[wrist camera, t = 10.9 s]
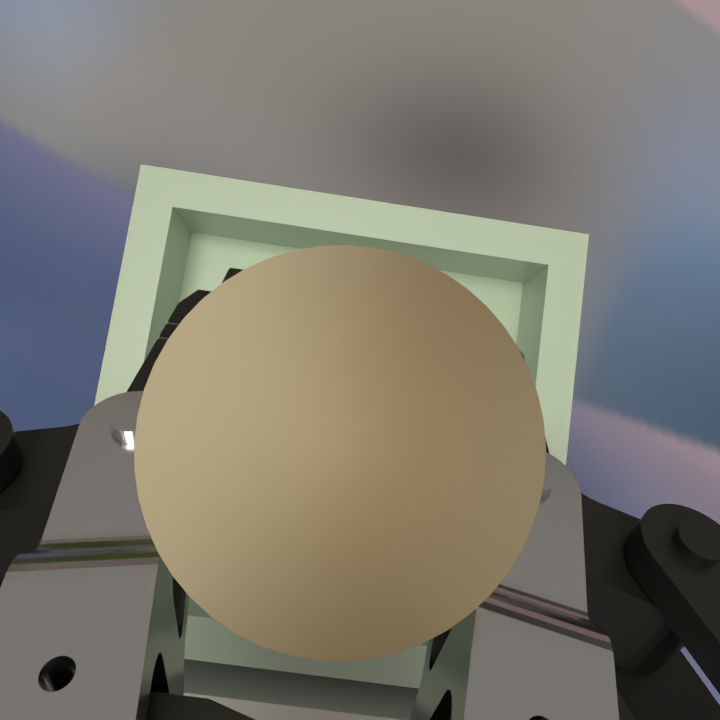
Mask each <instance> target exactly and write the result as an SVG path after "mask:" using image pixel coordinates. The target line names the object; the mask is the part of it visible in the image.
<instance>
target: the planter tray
mask: <svg viewBox="0 0 720 720" xmlns="http://www.w3.org/2000/svg"><path fill="white" fill-rule="evenodd" d="M588 237H589V235H588V234H583V233H576V232H570V231H563V230H557V229H550V228H544V227H538V226H532V225H525V224H519V223H512V222H506V221H500V220H493V219H487V218H480V217H474V216H467V215H461V214H455V213H448V212H442V211H435V210H429V209H423V208H417V207H410V206H403V205H397V204H391V203H385V202H378V201H372V200H365V199H359V198H352V197H346V196H340V195H333V194H327V193H321V192H314V191H308V190H301V189H295V188H289V187H282V186H276V185H270V184H263V183H257V182H250V181H244V180H238V179H231V178H225V177H218V176H212V175H205V174H199V173H192V172H186V171H180V170H174V169H167V168H160V167H154V166H148V165H142V164H141V167H140V172H139V178H138V183H137V188H136V193H135V198H134V203H133V208H132V213H131V219H130V224H129V229H128V234H127V239H126V244H125V250H124V255H123V260H122V265H121V270H120V275H119V281H118V286H117V291H116V296H115V301H114V306H113V312H112V317H111V322H110V327H109V332H108V337H107V343H106V348H105V353H104V358H103V363H102V368H101V374H100V379H99V384H98V389H97V394H96V400H95V405H96V404H98V403H99V402H101V401H103V400H105V399H106V398H109V397H111V396H114V395H117V394H121V393H125V392H127V390H128V388H129V387H130V385H131V383H132V382H133V380H134V378H135V376H136V375H137V373H138V371H139V370H140V368H141V366H142V364H143V363H144V361H145V359H146V358H147V356H148V354H149V352H150V351H151V349H152V347H153V346H154V344H155V342H156V340H157V339H159V337H160V334H161V332H162V330H163V328H164V327H165V325H166V324H168V320H169V318H170V316H171V315H172V313H173V311H174V310H175V308H176V306H177V304H178V303H179V302H181V301H182V300H184V299H185V298H186V297H188V296H189V295H191V294H192V293H194V292H195V291H197V290H198V289H199V290H205V291H213V290H214V289H215V288H217V287H218V286H219V285H220V284H222V281H223V279H224V277H225V275H226V273H227V271H228V270H229V269H230V268H237V269H243V270H244V269H246V268H248V267H250V266H252V265H255V264H257V263H259V262H261V261H264V260H266V259H268V258H271V257H274V256H277V255H281V254H284V253H287V252H291V251H294V250H299V249H305V248H311V247H317V246H332V245H352V246H364V247H373V248H378V249H382V250H387V251H391V252H396V253H399V254H402V255H405V256H408V257H411V258H413V259H416V260H419V261H422V262H424V263H426V264H428V265H430V266H432V267H434V268H435V269H437V270H439V271H441V272H443V273H445V274H447V275H448V276H450V277H451V278H453V279H454V280H455V281H457V282H458V283H460V284H461V285H463V286H464V287H466V288H467V289H468V290H469V291H470V292H472V293H473V294H474V295H475V296H476V297H477V298H478V299H479V300H481V301H482V302H483V303H484V304H485V305H486V306H487V307H488V308H489V309H490V311H491V312H492V313H493V314H494V315H495V316H496V317H497V319H498V320H499V321H500V322H501V323H502V324H503V326H504V327H505V329H506V330H507V332H508V333H509V334H510V336H511V337H512V339H513V340H514V342H515V343H516V345H517V346H518V348H519V350H520V351H521V352H522V354H523V355H524V359H525V362H526V364H527V366H528V368H529V370H530V373H531V376H532V379H533V382H534V385H535V387H536V390H537V393H538V397H539V401H540V406H541V410H542V415H543V420H544V430H545V438H546V442H547V445H548V449H549V453H550V454H551V455H552V456H554V457H556V458H557V459H558V460H560V461H561V462H562V463H563V464H564V465H565V466H566V458H567V448H568V438H569V428H570V418H571V408H572V398H573V387H574V378H575V368H576V358H577V348H578V337H579V328H580V318H581V308H582V298H583V287H584V278H585V268H586V258H587V248H588ZM95 405H94V406H95ZM427 645H428V641H427V642H425V643H423V644H420V645H418V646H415V647H412V648H409V649H407V650H404V651H401V652H399V653H396V654H391V655H387V656H382V657H377V658H373V659H368V660H355V661H342V662H339V661H322V660H310V659H305V658H300V657H295V656H290V655H285V654H282V653H279V652H277V651H274V650H271V649H268V648H265V647H262V646H259V645H257V644H255V643H253V642H251V641H249V640H247V639H245V638H244V637H242V636H240V635H238V634H236V633H234V632H232V631H231V630H229V629H228V628H227V627H225V626H224V625H222V624H221V623H219V622H218V621H217V620H215V619H214V618H212V617H211V616H210V615H209V614H208V613H206V612H205V611H204V610H203V609H202V608H201V607H200V606H199V605H198V604H197V603H196V602H195V601H194V600H192V599H191V598H190V597H189V607H188V617H187V628H186V639H185V653H184V659H190V660H197V661H205V662H213V663H221V664H229V665H237V666H245V667H253V668H261V669H269V670H276V671H284V672H292V673H300V674H308V675H316V676H324V677H332V678H340V679H347V680H355V681H363V682H371V683H379V684H387V685H395V686H403V687H411V688H419V686H420V682H421V678H422V673H423V668H424V662H425V656H426V651H427Z"/></svg>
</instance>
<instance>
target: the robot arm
mask: <svg viewBox="0 0 720 720" xmlns="http://www.w3.org/2000/svg"><path fill="white" fill-rule="evenodd" d="M242 270H243V269H237V268H230V269H229V270H228V271H227V273H226V275H225V277H224V279H223V281H222V283H223V282H224V281H226V280H228V279H229V278H231V277H233V276H234V275H236V274H237V273H239V272H241V271H242ZM210 292H212V291H205V290H199V289H198V290H197V291H195V292H194V293H192V294H191V295H189V296H188V297H186V298H185V299H184V300H182V301H181V302H179V303H178V304H177V306H176V308H175V310H174V311H173V313H172V315H171V316H170V318H169V320H168V324H166V325H165V327H164V328H163V330H162V332H161V334H160V337H159V339H157V340H156V342H155V344H154V346H153V347H152V349H151V351H150V352H149V354H148V356H147V358H146V359H145V361H144V363H143V364H142V366H141V368H140V370H139V371H138V373H137V375H136V376H135V378H134V380H133V382H132V383H131V385H130V387H129V388H128V390H127V392H125V393H121V394H117V395H114V396H111V397H109V398H106V399H105V400H103V401H101V402H99V403H98V404H96V405H95V406H93V407H92V408H91V409H90V410H89V411H88V412H87V413H86V414H85V416H84V417H83V418H82V420H81V422H80V424H76V425H72V426H65V427H58V428H48V429H38V430H28V431H18V432H14V430H13V427H12V424H11V422H10V420H9V418H8V417H7V416H6V415H5V414H4V413H2V412H1V411H0V720H255V719H253V718H251V717H248V716H246V715H244V714H242V713H240V712H237V711H235V710H233V709H231V708H228V707H226V706H224V705H222V704H220V703H217V702H215V701H213V700H211V699H208V698H200V697H192V696H184V653H185V639H186V628H187V617H188V607H189V595H188V594H187V593H186V592H185V590H184V589H183V588H182V587H181V586H180V584H179V583H178V582H177V581H176V579H175V578H174V577H173V576H172V574H171V573H170V571H169V569H168V568H167V566H166V565H165V563H164V561H163V560H162V558H161V556H160V555H159V553H158V551H157V549H156V547H155V545H154V542H153V540H152V538H151V536H150V533H149V531H148V529H147V526H146V523H145V520H144V516H143V513H142V509H141V506H140V502H139V499H138V492H137V485H136V478H135V472H134V440H135V431H136V423H137V415H138V411H139V407H140V403H141V400H142V396H143V392H144V388H145V386H146V383H147V381H148V378H149V376H150V373H151V371H152V368H153V366H154V363H155V362H156V360H157V358H158V356H159V354H160V353H161V351H162V349H163V347H164V345H165V344H166V342H167V340H168V339H169V337H170V336H171V335H172V333H173V332H174V331H175V329H176V328H177V327H178V325H179V324H180V323H181V321H182V320H183V318H184V317H185V316H186V315H187V314H188V313H189V312H190V311H191V310H192V309H193V308H194V307H195V306H196V305H197V304H198V303H199V302H200V301H201V300H202V299H203V298H204V297H205V296H207V295H208V294H209V293H210ZM520 352H521V351H520ZM521 354H522V352H521ZM522 356H523V358H524V355H523V354H522ZM524 360H525V359H524ZM545 441H546V438H545ZM684 646H685V647H686V649H687V650H688V651H689V653H690V654H691V655H692V657H693V658H694V660H695V661H696V662H697V664H698V665H699V666H700V668H701V669H702V671H703V672H704V673H705V675H706V676H707V677H708V679H709V680H710V682H711V683H712V684H713V686H714V687H715V688H716V690H717V691H718V693H719V694H720V525H719V524H718V523H717V522H715V521H714V520H712V519H711V518H709V517H707V516H706V515H704V514H702V513H700V512H698V511H696V510H693V509H691V508H688V507H685V506H681V505H676V504H661V505H657V506H654V507H652V508H650V509H649V510H647V512H646V513H645V514H644V515H643V517H642V518H641V519H638V518H635V517H633V516H631V515H628V514H626V513H623V512H621V511H618V510H616V509H613V508H611V507H608V506H606V505H603V504H601V503H599V502H597V501H594V500H592V499H590V498H589V497H587V496H585V495H583V494H582V493H581V490H580V487H579V484H578V482H577V480H576V478H575V476H574V475H573V474H572V472H571V471H570V470H569V469H568V468H567V467H566V466H565V465H564V464H563V463H562V462H561V461H560V460H558V459H557V458H556V457H554V456H552V455H551V454H550V453H549V449H548V445H547V442H546V459H545V476H544V482H543V488H542V494H541V500H540V503H539V507H538V510H537V513H536V517H535V520H534V523H533V526H532V529H531V531H530V533H529V535H528V537H527V540H526V542H525V544H524V546H523V549H522V551H521V552H520V554H519V556H518V557H517V559H516V561H515V562H514V564H513V565H512V567H511V569H510V570H509V572H508V573H507V575H506V576H505V577H504V579H503V580H502V581H501V582H500V583H499V585H498V586H497V587H496V588H495V590H494V591H493V592H492V593H491V594H490V596H489V597H488V598H487V599H485V600H484V601H483V602H482V603H481V604H480V605H479V606H478V607H477V608H476V609H475V610H474V611H473V612H472V613H471V614H469V615H468V616H467V617H465V618H464V619H463V620H461V621H460V622H458V623H457V624H456V625H454V626H453V627H451V628H450V629H449V630H447V631H445V632H444V633H442V634H440V635H438V636H436V637H434V638H432V639H430V640H428V645H427V651H426V656H425V662H424V668H423V673H422V678H421V682H420V686H419V690H418V694H417V697H416V700H415V703H414V707H413V710H412V714H411V718H410V720H720V705H719V704H718V702H717V701H716V700H715V698H714V697H713V695H712V694H711V693H710V691H709V690H708V688H707V687H706V686H705V684H704V683H703V681H702V680H701V679H700V677H699V676H698V674H697V673H696V672H695V670H694V669H693V668H692V666H691V665H690V663H689V662H688V661H687V659H686V658H685V656H684V655H683V654H682V652H681V651H680V650H681V649H682V648H683V647H684Z"/></svg>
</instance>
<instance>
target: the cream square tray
mask: <svg viewBox="0 0 720 720" xmlns="http://www.w3.org/2000/svg"><path fill="white" fill-rule="evenodd" d="M418 690H419V688H411V687H403V686H395V685H387V684H379V683H371V682H363V681H355V680H347V679H340V678H332V677H324V676H316V675H308V674H300V673H292V672H284V671H276V670H269V669H261V668H253V667H245V666H237V665H229V664H221V663H213V662H205V661H197V660H190V659H184V696H192V697H200V698H208V699H211V700H213V701H215V702H217V703H220V704H222V705H224V706H226V707H228V708H231V709H233V710H235V711H237V712H240V713H242V714H244V715H246V716H248V717H251V718H253V719H255V720H410V718H411V714H412V710H413V707H414V703H415V700H416V697H417V694H418Z"/></svg>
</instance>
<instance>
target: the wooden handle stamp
mask: <svg viewBox="0 0 720 720" xmlns="http://www.w3.org/2000/svg"><path fill="white" fill-rule="evenodd" d="M545 459H546V441H545V430H544V420H543V415H542V410H541V406H540V401H539V397H538V393H537V390H536V387H535V385H534V382H533V379H532V376H531V373H530V370H529V368H528V366H527V364H526V362H525V360H524V358H523V356H522V354H521V352H520V350H519V348H518V346H517V345H516V343H515V342H514V340H513V339H512V337H511V336H510V334H509V333H508V332H507V330H506V329H505V327H504V326H503V324H502V323H501V322H500V321H499V320H498V319H497V317H496V316H495V315H494V314H493V313H492V312H491V311H490V309H489V308H488V307H487V306H486V305H485V304H484V303H483V302H482V301H481V300H479V299H478V298H477V297H476V296H475V295H474V294H473V293H472V292H470V291H469V290H468V289H467V288H466V287H464V286H463V285H461V284H460V283H458V282H457V281H455V280H454V279H453V278H451V277H450V276H448V275H447V274H445V273H443V272H441V271H439V270H437V269H435V268H434V267H432V266H430V265H428V264H426V263H424V262H422V261H419V260H416V259H413V258H411V257H408V256H405V255H402V254H399V253H396V252H391V251H387V250H382V249H378V248H373V247H364V246H352V245H332V246H317V247H311V248H305V249H299V250H294V251H291V252H287V253H284V254H281V255H277V256H274V257H271V258H268V259H266V260H264V261H261V262H259V263H257V264H255V265H252V266H250V267H248V268H246V269H244V270H242V271H241V272H239V273H237V274H236V275H234V276H233V277H231V278H229V279H228V280H226V281H224V282H223V283H222V284H220V285H219V286H218V287H217V288H215V289H214V290H213V291H212V292H210V293H209V294H208V295H207V296H205V297H204V298H203V299H202V300H201V301H200V302H199V303H198V304H197V305H196V306H195V307H194V308H193V309H192V310H191V311H190V312H189V313H188V314H187V315H186V316H185V317H184V318H183V320H182V321H181V323H180V324H179V325H178V327H177V328H176V329H175V331H174V332H173V333H172V335H171V336H170V337H169V339H168V340H167V342H166V344H165V345H164V347H163V349H162V351H161V353H160V354H159V356H158V358H157V360H156V362H155V363H154V366H153V368H152V371H151V373H150V376H149V378H148V381H147V383H146V386H145V388H144V392H143V396H142V400H141V403H140V407H139V411H138V415H137V423H136V431H135V440H134V472H135V478H136V485H137V492H138V499H139V502H140V506H141V509H142V513H143V516H144V520H145V523H146V526H147V529H148V531H149V533H150V536H151V538H152V540H153V542H154V545H155V547H156V549H157V551H158V553H159V555H160V556H161V558H162V560H163V561H164V563H165V565H166V566H167V568H168V569H169V571H170V573H171V574H172V576H173V577H174V578H175V579H176V581H177V582H178V583H179V584H180V586H181V587H182V588H183V589H184V590H185V592H186V593H187V594H188V595H189V597H190V598H191V599H192V600H194V601H195V602H196V603H197V604H198V605H199V606H200V607H201V608H202V609H203V610H204V611H205V612H206V613H208V614H209V615H210V616H211V617H212V618H214V619H215V620H217V621H218V622H219V623H221V624H222V625H224V626H225V627H227V628H228V629H229V630H231V631H232V632H234V633H236V634H238V635H240V636H242V637H244V638H245V639H247V640H249V641H251V642H253V643H255V644H257V645H259V646H262V647H265V648H268V649H271V650H274V651H277V652H279V653H282V654H285V655H290V656H295V657H300V658H305V659H310V660H322V661H339V662H342V661H355V660H368V659H373V658H377V657H382V656H387V655H391V654H396V653H399V652H401V651H404V650H407V649H409V648H412V647H415V646H418V645H420V644H423V643H425V642H427V641H428V640H430V639H432V638H434V637H436V636H438V635H440V634H442V633H444V632H445V631H447V630H449V629H450V628H451V627H453V626H454V625H456V624H457V623H458V622H460V621H461V620H463V619H464V618H465V617H467V616H468V615H469V614H471V613H472V612H473V611H474V610H475V609H476V608H477V607H478V606H479V605H480V604H481V603H482V602H483V601H484V600H485V599H487V598H488V597H489V596H490V594H491V593H492V592H493V591H494V590H495V588H496V587H497V586H498V585H499V583H500V582H501V581H502V580H503V579H504V577H505V576H506V575H507V573H508V572H509V570H510V569H511V567H512V565H513V564H514V562H515V561H516V559H517V557H518V556H519V554H520V552H521V551H522V549H523V546H524V544H525V542H526V540H527V537H528V535H529V533H530V531H531V529H532V526H533V523H534V520H535V517H536V513H537V510H538V507H539V503H540V500H541V494H542V488H543V482H544V476H545Z"/></svg>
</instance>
